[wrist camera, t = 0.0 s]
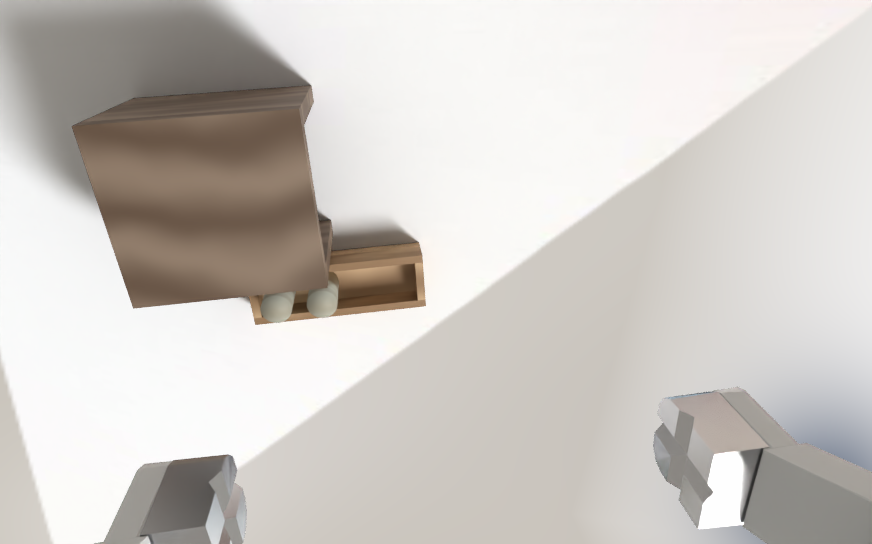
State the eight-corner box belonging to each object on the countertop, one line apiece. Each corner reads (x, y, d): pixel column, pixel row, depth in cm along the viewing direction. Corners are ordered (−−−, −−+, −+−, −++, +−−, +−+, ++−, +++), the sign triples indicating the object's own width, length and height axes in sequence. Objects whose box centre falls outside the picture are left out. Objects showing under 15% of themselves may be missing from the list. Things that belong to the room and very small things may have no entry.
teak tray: (249, 259, 59) (238, 285, 54) (418, 242, 61) (425, 266, 55) (260, 308, 62) (251, 338, 56) (422, 290, 64) (428, 318, 58)
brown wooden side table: (133, 98, 51) (71, 126, 40) (311, 85, 53) (299, 108, 41) (176, 248, 58) (133, 308, 47) (332, 233, 59) (327, 287, 48)
